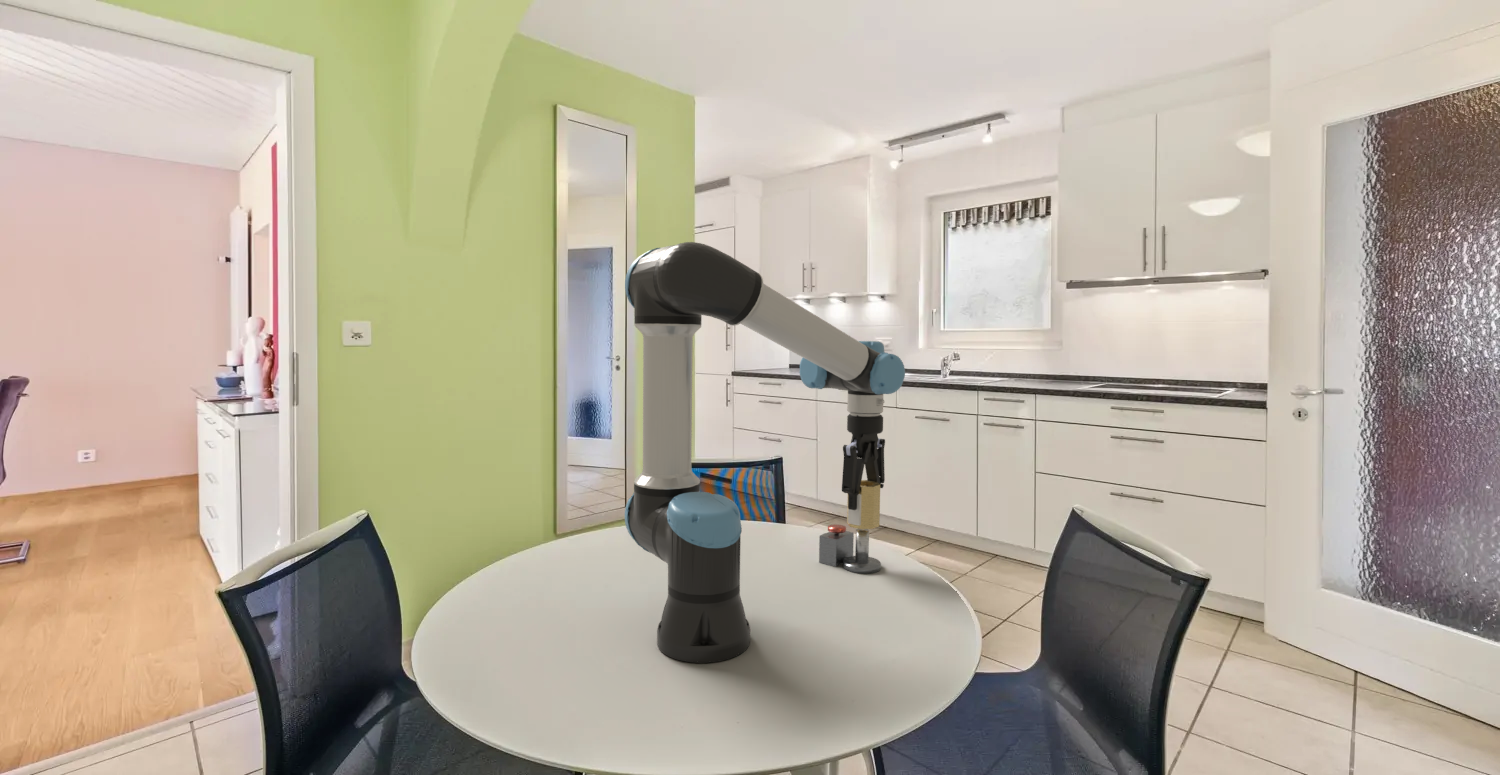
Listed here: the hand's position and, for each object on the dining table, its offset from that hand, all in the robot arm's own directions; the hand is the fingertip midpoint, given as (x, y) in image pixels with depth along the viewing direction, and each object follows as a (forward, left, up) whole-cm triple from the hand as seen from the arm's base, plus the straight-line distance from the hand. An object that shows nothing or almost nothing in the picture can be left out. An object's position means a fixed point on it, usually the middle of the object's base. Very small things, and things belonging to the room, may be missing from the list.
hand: (863, 520), depth 146 cm
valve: (0, +2, -10) cm, 11 cm away
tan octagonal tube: (0, 0, -1) cm, 1 cm away
